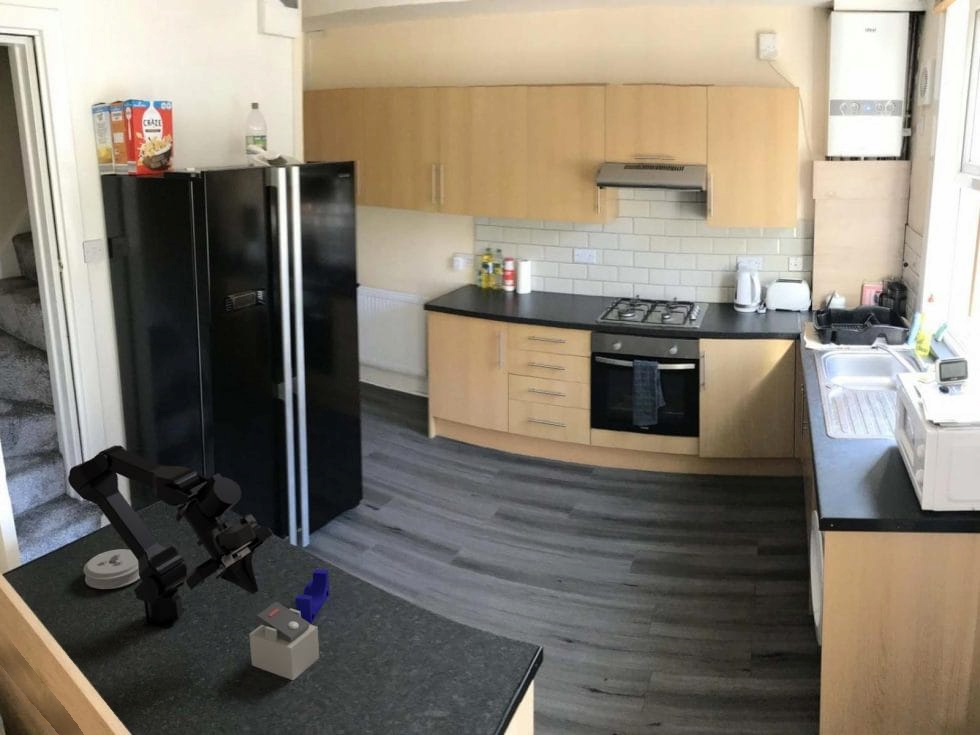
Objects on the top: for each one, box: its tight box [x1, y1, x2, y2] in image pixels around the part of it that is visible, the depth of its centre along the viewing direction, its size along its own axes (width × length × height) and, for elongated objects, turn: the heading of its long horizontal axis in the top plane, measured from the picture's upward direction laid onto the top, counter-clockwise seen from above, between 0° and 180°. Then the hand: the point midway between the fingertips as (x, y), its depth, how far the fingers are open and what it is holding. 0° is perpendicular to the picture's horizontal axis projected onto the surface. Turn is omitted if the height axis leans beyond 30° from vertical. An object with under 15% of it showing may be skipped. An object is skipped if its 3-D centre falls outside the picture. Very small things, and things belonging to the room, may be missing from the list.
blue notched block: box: [295, 568, 330, 625], centre depth 199 cm, size 12×4×6 cm, turn 171°
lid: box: [83, 548, 141, 590], centre depth 210 cm, size 13×13×5 cm
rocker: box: [255, 601, 311, 643], centre depth 178 cm, size 8×6×1 cm, turn 64°
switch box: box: [248, 608, 320, 681], centre depth 180 cm, size 10×8×9 cm
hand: (255, 592), depth 180 cm, fingers closed
